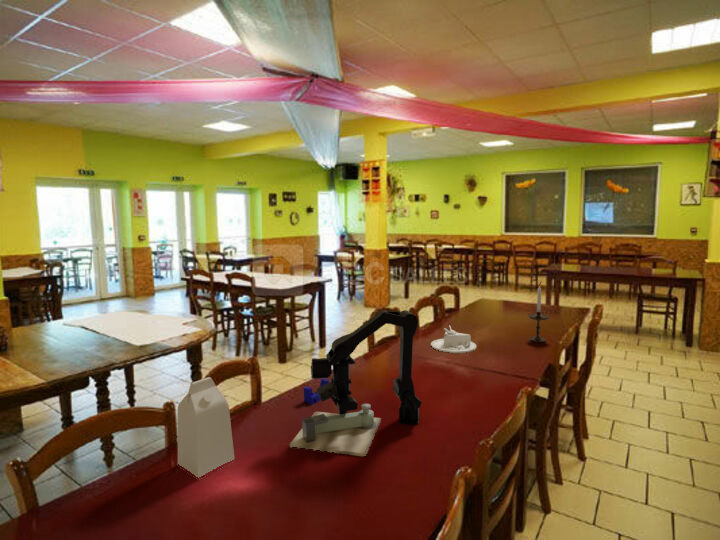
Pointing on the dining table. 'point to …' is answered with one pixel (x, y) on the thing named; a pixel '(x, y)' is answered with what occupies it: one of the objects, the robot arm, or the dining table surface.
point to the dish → (454, 342)
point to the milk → (204, 429)
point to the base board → (340, 439)
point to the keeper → (312, 426)
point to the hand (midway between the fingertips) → (341, 418)
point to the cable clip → (309, 395)
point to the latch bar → (348, 420)
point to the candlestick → (538, 318)
